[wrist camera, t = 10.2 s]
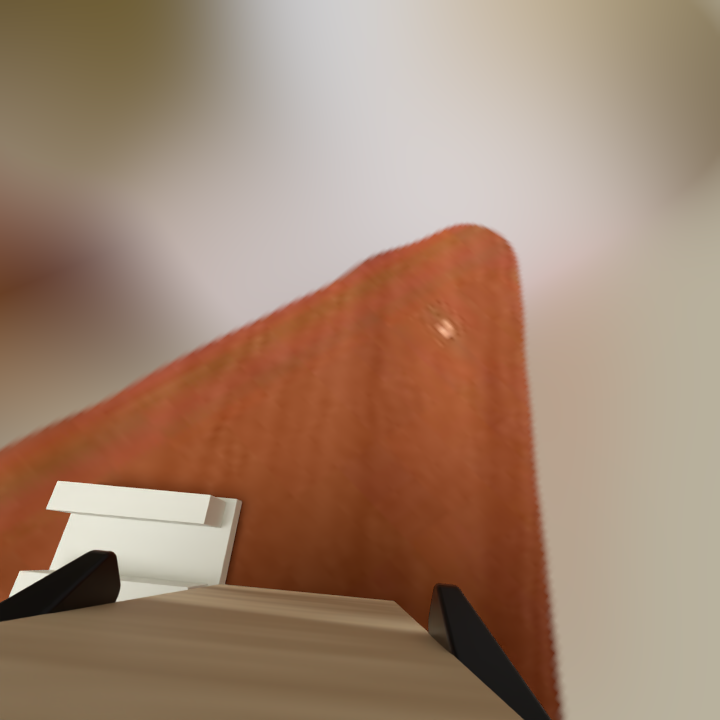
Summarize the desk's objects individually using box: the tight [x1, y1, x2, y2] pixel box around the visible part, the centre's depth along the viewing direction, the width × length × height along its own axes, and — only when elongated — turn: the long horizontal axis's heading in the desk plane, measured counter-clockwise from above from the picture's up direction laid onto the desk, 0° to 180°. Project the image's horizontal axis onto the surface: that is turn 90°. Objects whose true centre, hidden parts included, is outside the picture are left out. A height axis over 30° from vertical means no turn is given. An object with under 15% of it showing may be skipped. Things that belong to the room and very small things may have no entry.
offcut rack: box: [9, 481, 242, 602], centre depth 16 cm, size 16×8×4 cm, turn 175°
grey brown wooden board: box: [0, 584, 524, 720], centre depth 7 cm, size 2×6×13 cm, turn 85°
